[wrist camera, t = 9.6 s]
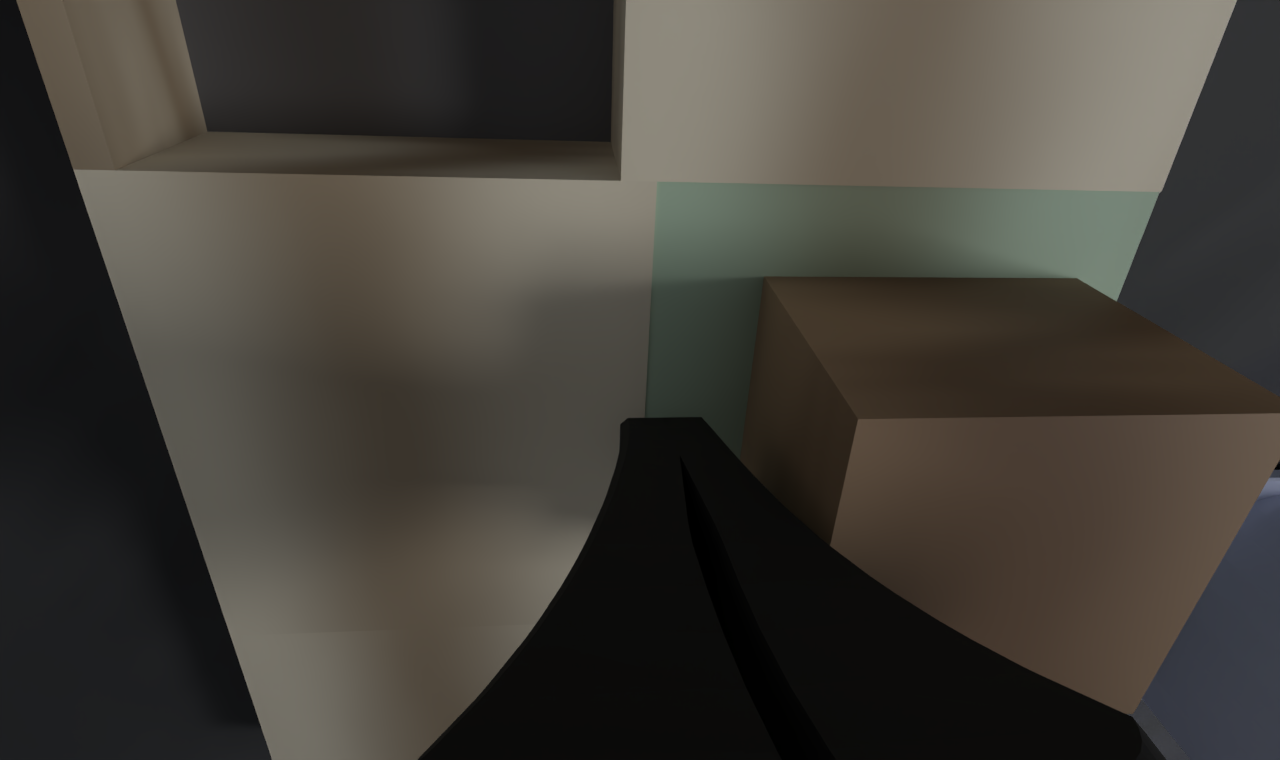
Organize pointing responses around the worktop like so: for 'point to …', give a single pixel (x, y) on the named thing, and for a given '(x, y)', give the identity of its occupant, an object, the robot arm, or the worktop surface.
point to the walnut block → (1010, 459)
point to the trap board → (540, 265)
